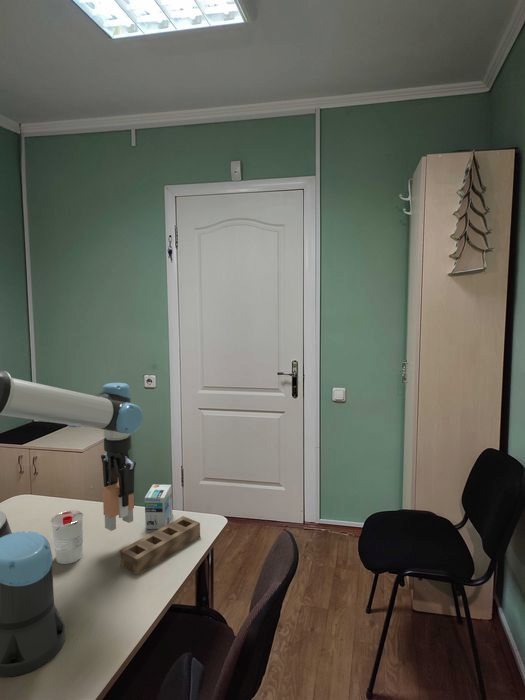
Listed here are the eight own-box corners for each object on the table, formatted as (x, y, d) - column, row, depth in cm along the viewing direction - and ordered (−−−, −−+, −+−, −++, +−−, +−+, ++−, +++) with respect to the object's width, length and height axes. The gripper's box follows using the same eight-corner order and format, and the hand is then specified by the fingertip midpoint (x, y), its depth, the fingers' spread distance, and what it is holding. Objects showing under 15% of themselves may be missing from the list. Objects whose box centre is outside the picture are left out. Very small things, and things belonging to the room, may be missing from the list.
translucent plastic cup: (72, 569, 123) (69, 527, 121) (44, 565, 124) (42, 524, 123) (92, 549, 132) (90, 510, 131) (67, 546, 134) (65, 508, 133)
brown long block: (137, 575, 120) (136, 559, 119) (120, 565, 124) (119, 550, 124) (200, 536, 139) (199, 522, 139) (183, 529, 143) (183, 516, 143)
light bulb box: (165, 529, 143) (164, 497, 142) (144, 529, 143) (143, 497, 142) (173, 513, 154) (172, 483, 153) (153, 513, 154) (152, 483, 153)
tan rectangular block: (111, 531, 128) (110, 490, 127) (103, 527, 130) (102, 487, 129) (134, 520, 134) (133, 482, 133) (126, 517, 136) (126, 479, 135)
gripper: (146, 438, 128) (147, 517, 130) (111, 428, 137) (112, 502, 139) (124, 444, 122) (126, 527, 124) (89, 434, 131) (91, 511, 133)
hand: (119, 514), depth 132 cm, fingers closed on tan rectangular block, 3 cm apart
